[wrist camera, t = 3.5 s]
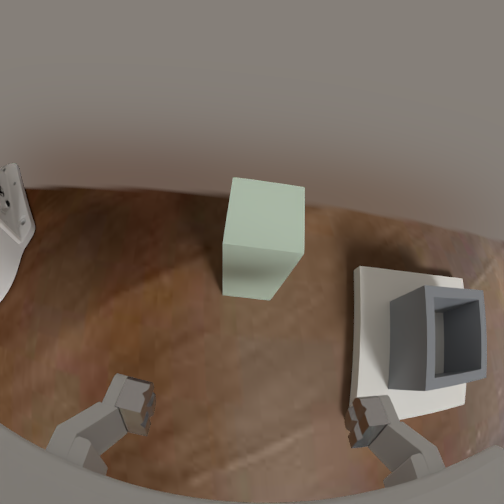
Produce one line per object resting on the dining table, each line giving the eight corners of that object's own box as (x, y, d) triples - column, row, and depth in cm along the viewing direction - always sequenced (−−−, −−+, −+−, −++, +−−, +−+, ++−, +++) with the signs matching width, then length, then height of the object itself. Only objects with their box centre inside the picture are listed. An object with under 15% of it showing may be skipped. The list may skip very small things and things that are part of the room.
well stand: (456, 403, 23) (499, 403, 16) (347, 423, 22) (386, 438, 16) (455, 282, 29) (494, 262, 23) (353, 270, 29) (389, 241, 22)
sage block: (270, 300, 27) (304, 253, 15) (222, 294, 26) (222, 243, 15) (273, 256, 28) (304, 187, 17) (228, 250, 28) (233, 177, 17)
